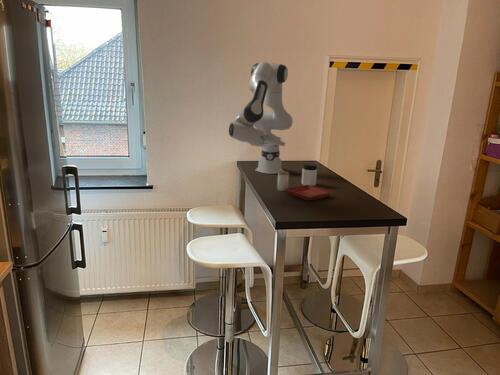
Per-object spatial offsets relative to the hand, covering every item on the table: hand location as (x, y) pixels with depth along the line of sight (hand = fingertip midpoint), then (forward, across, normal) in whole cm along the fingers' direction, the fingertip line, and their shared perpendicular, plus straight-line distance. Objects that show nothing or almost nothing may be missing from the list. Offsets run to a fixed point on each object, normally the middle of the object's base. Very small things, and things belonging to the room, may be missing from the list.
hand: (280, 145), depth 213 cm
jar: (+28, +11, +15) cm, 34 cm away
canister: (+9, +4, +23) cm, 25 cm away
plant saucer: (+18, -9, +24) cm, 32 cm away
